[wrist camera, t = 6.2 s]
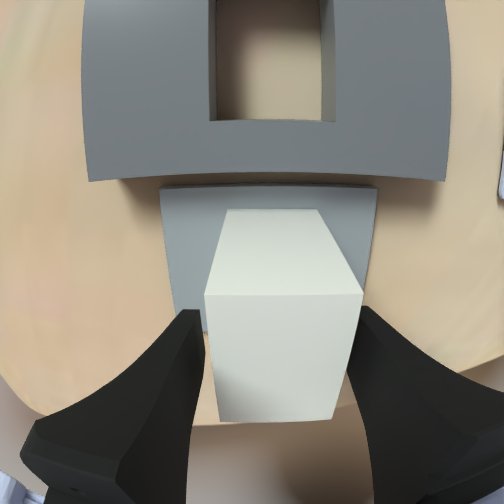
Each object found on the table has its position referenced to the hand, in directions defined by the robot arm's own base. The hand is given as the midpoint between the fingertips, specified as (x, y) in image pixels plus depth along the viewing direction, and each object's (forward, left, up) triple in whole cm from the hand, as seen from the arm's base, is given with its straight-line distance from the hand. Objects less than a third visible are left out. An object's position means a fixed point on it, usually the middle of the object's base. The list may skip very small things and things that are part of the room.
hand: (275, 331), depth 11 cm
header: (0, -10, -5) cm, 11 cm away
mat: (0, 0, -5) cm, 5 cm away
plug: (0, 0, -5) cm, 5 cm away
